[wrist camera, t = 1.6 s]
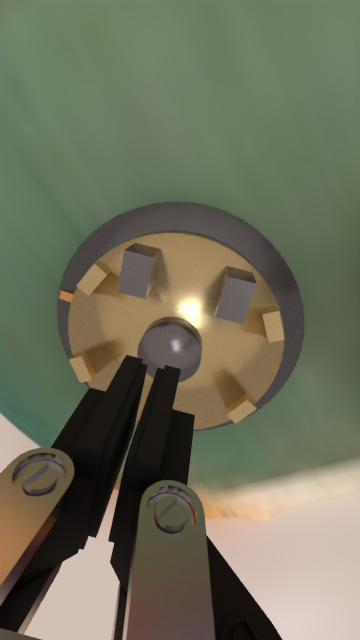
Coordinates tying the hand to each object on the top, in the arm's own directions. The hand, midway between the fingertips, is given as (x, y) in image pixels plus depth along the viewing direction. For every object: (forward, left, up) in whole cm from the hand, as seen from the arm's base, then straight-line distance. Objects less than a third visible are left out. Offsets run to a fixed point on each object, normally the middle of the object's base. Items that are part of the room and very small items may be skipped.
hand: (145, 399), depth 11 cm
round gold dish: (+2, +6, -17) cm, 18 cm away
